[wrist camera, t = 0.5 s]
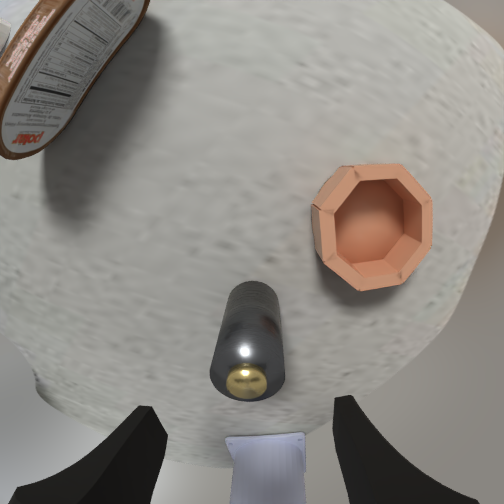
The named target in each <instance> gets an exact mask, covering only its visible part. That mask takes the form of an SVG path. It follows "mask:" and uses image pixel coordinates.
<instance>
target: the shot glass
mask: <svg viewBox="0 0 504 504" xmlns="http://www.w3.org/2000/svg"><path fill="white" fill-rule="evenodd" d="M10 29H11V24H10V23H9V22H7V21H6V20H4V19H2V18H0V52H1V50H2V48H3V47H4V45H5V43H6V41H7V39H8V36H9V33H10Z"/></svg>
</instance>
